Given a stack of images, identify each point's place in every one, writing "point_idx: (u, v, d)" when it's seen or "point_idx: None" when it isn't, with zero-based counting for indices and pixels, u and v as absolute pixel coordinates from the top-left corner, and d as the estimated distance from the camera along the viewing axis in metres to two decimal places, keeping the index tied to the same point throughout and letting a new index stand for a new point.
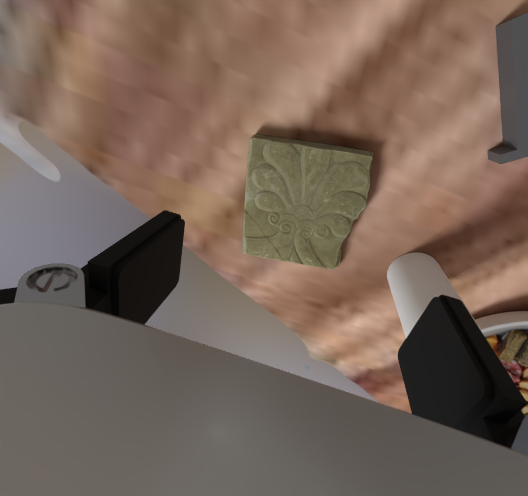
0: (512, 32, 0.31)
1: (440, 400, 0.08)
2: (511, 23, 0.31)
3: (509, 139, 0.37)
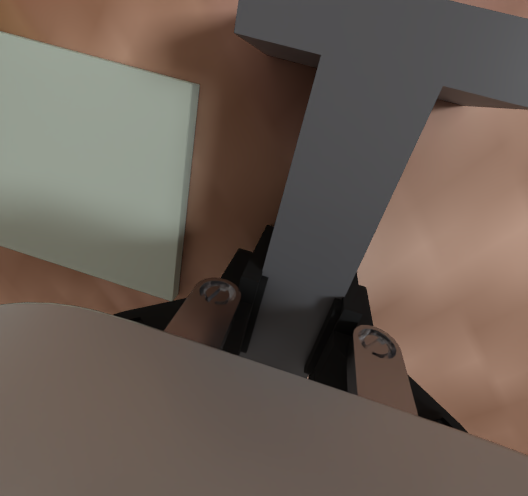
0: None
1: None
2: None
3: None
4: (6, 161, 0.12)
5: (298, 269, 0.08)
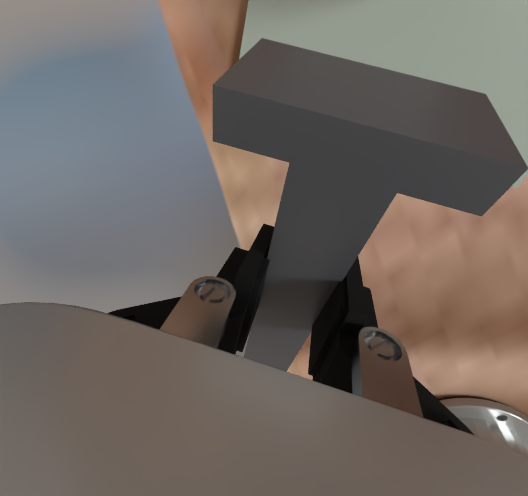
0: None
1: (322, 328, 0.09)
2: None
3: None
4: None
5: (288, 290, 0.10)
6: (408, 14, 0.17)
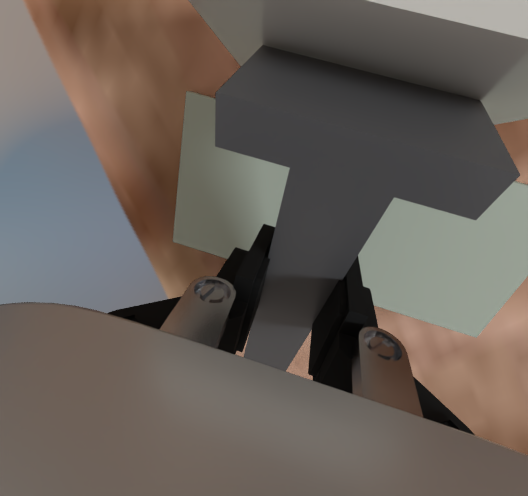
0: None
1: (322, 329, 0.09)
2: None
3: None
4: (386, 238, 0.16)
5: (287, 290, 0.10)
6: None
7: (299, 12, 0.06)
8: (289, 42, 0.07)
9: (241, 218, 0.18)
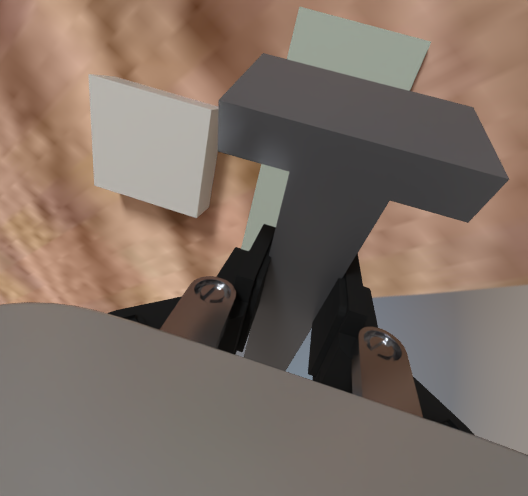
0: None
1: (322, 328, 0.09)
2: None
3: None
4: None
5: (287, 291, 0.10)
6: None
7: (103, 160, 0.25)
8: (122, 170, 0.25)
9: None
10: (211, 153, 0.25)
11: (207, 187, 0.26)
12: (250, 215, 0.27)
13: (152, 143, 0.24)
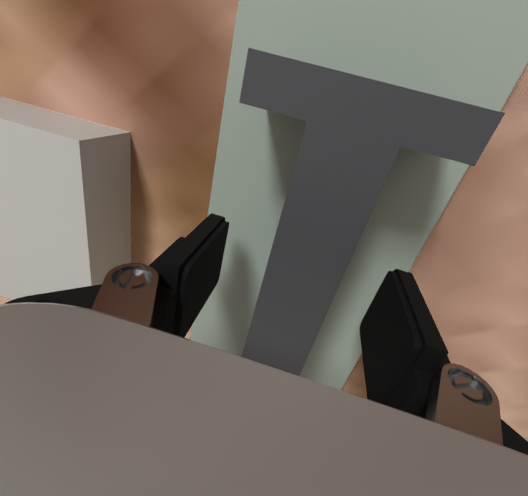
0: None
1: (384, 359, 0.09)
2: None
3: None
4: None
5: (291, 283, 0.10)
6: (241, 237, 0.13)
7: None
8: None
9: None
10: (108, 217, 0.13)
11: None
12: None
13: None
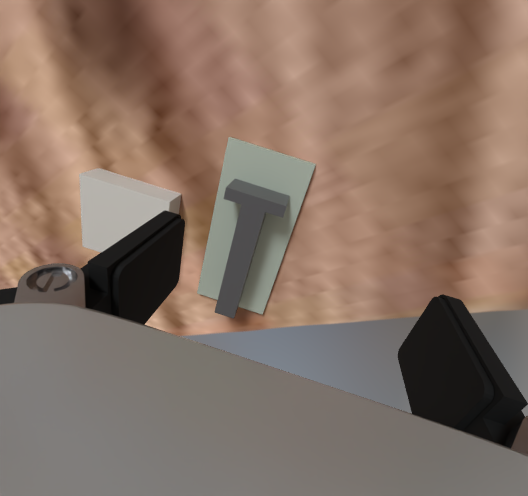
0: (235, 310, 0.34)
1: (440, 400, 0.08)
2: (234, 315, 0.35)
3: (265, 215, 0.30)
4: None
5: (239, 249, 0.30)
6: (223, 235, 0.34)
7: (90, 229, 0.34)
8: (104, 237, 0.34)
9: (247, 282, 0.36)
10: None
11: None
12: (203, 267, 0.36)
13: (127, 220, 0.32)
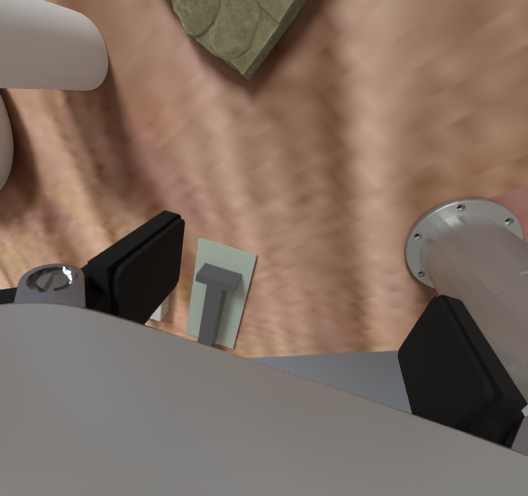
0: None
1: (440, 400, 0.08)
2: None
3: None
4: None
5: (208, 311, 0.45)
6: (201, 296, 0.49)
7: None
8: None
9: (220, 327, 0.51)
10: None
11: (165, 304, 0.50)
12: (189, 316, 0.51)
13: None
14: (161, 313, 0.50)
